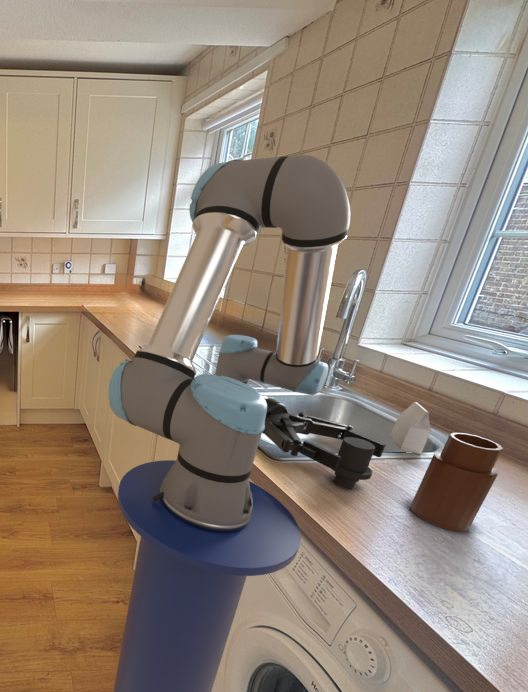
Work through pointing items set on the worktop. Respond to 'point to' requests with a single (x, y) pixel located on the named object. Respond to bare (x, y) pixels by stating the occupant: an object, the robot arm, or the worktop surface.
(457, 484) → the brown stepped cylinder
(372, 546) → the worktop surface
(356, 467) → the bung
